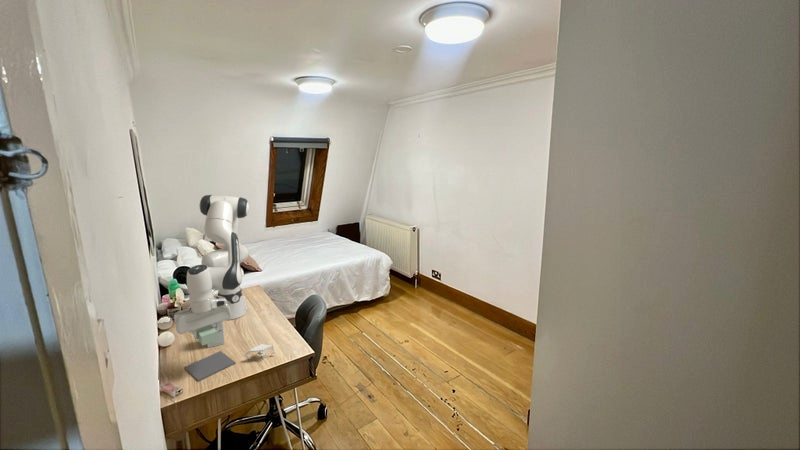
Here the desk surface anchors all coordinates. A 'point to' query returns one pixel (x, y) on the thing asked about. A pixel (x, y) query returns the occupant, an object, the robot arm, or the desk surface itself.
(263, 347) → the origami figure
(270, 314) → the desk surface
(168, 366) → the desk surface
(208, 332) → the card box
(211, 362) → the rubber mat
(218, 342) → the supplement box
